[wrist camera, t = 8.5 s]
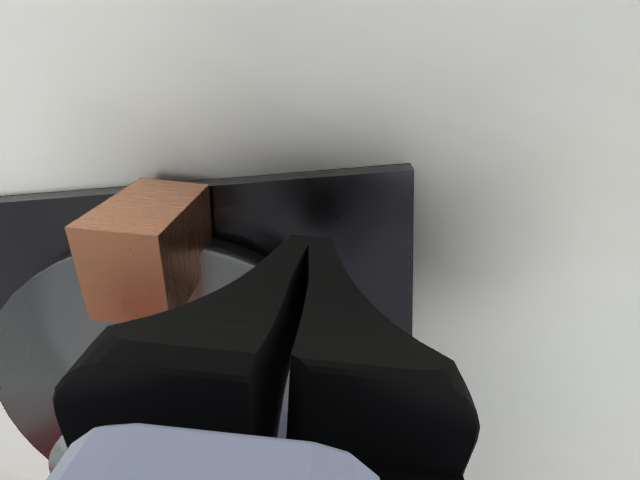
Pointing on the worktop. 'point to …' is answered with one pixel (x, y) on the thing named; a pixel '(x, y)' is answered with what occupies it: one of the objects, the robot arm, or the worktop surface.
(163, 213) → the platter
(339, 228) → the turntable base
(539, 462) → the worktop surface
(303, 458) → the robot arm
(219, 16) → the worktop surface
